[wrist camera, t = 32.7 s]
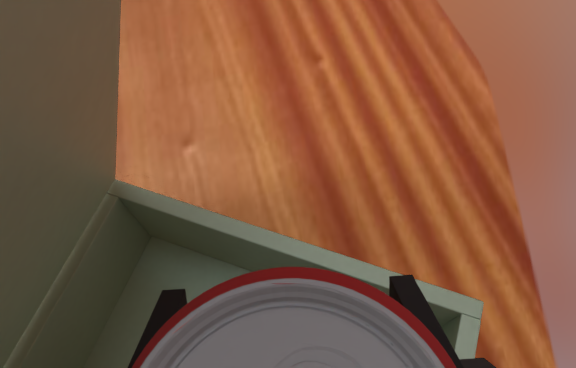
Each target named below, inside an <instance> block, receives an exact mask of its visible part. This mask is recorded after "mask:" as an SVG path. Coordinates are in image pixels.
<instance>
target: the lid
mask: <svg viewBox="0 0 576 368" xmlns="http://www.w3.org/2000/svg"><path fill="white" fill-rule="evenodd" d="M120 12H121V0H0V368H3V367H4V365H5V363H6V362H7V360H8V358H9V357H10V355H11V353H12V352H13V350H14V348H15V347H16V345H17V343H18V342H19V340H20V338H21V336H22V335H23V333H24V331H25V330H26V328H27V326H28V325H29V323H30V321H31V320H32V318H33V316H34V315H35V313H36V311H37V309H38V308H39V306H40V304H41V303H42V301H43V299H44V298H45V296H46V294H47V293H48V291H49V289H50V287H51V286H52V284H53V282H54V281H55V279H56V277H57V276H58V274H59V272H60V271H61V269H62V267H63V266H64V264H65V262H66V260H67V259H68V257H69V255H70V254H71V252H72V250H73V249H74V247H75V245H76V244H77V242H78V240H79V238H80V237H81V235H82V233H83V232H84V230H85V228H86V227H87V225H88V223H89V222H90V220H91V218H92V217H93V215H94V213H95V211H96V210H97V208H98V206H99V205H100V203H101V201H102V200H103V198H104V196H105V195H106V193H107V191H108V189H109V188H110V186H111V184H112V183H113V181H114V179H115V171H116V139H117V107H118V75H119V44H120Z"/></svg>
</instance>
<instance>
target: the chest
mask: <svg viewBox="0 0 576 368" xmlns="http://www.w3.org/2000/svg"><path fill="white" fill-rule="evenodd" d="M278 267H309V268H317V269H323V270H329V271H333V272H337V273H341V274H344V275H347V276H350V277H353V278H355V279H358V280H360V281H362V282H365V283H367V284H369V285H371V286H373V287H375V288H377V289H378V290H380V291H382V292H384V293H385V294H387V295H388V296H389V276H400V275H402V274H399V273H396V272H393V271H390V270H387V269H384V268H381V267H378V266H375V265H372V264H369V263H366V262H363V261H360V260H357V259H354V258H351V257H348V256H345V255H342V254H339V253H336V252H333V251H329V250H326V249H323V248H320V247H317V246H314V245H311V244H308V243H305V242H302V241H299V240H296V239H293V238H290V237H287V236H284V235H281V234H278V233H275V232H272V231H269V230H266V229H263V228H260V227H257V226H254V225H251V224H248V223H245V222H242V221H239V220H236V219H233V218H230V217H227V216H224V215H221V214H218V213H215V212H212V211H209V210H206V209H203V208H200V207H197V206H194V205H191V204H188V203H185V202H182V201H179V200H176V199H173V198H170V197H167V196H164V195H161V194H158V193H155V192H152V191H149V190H146V189H143V188H140V187H137V186H134V185H131V184H128V183H125V182H122V181H119V180H116V179H114V181H113V183H112V184H111V186H110V188H109V189H108V191H107V193H106V195H105V196H104V198H103V200H102V201H101V203H100V205H99V206H98V208H97V210H96V211H95V213H94V215H93V217H92V218H91V220H90V222H89V223H88V225H87V227H86V228H85V230H84V232H83V233H82V235H81V237H80V238H79V240H78V242H77V244H76V245H75V247H74V249H73V250H72V252H71V254H70V255H69V257H68V259H67V260H66V262H65V264H64V266H63V267H62V269H61V271H60V272H59V274H58V276H57V277H56V279H55V281H54V282H53V284H52V286H51V287H50V289H49V291H48V293H47V294H46V296H45V298H44V299H43V301H42V303H41V304H40V306H39V308H38V309H37V311H36V313H35V315H34V316H33V318H32V320H31V321H30V323H29V325H28V326H27V328H26V330H25V331H24V333H23V335H22V336H21V338H20V340H19V342H18V343H17V345H16V347H15V348H14V350H13V352H12V353H11V355H10V357H9V358H8V360H7V362H6V363H5V365H4V367H3V368H128V365H129V363H130V361H131V359H132V356H133V354H134V352H135V350H136V348H137V345H138V343H139V341H140V339H141V336H142V334H143V332H144V330H145V328H146V325H147V323H148V321H149V319H150V316H151V314H152V312H153V310H154V308H155V305H156V303H157V301H158V299H159V296H160V294H161V292H162V290H172V289H185V291H186V298H187V303H189V302H190V301H191V300H193V299H194V298H196V297H197V296H199V295H200V294H202V293H203V292H205V291H207V290H209V289H211V288H212V287H214V286H216V285H218V284H220V283H222V282H225V281H227V280H229V279H232V278H234V277H237V276H240V275H243V274H246V273H250V272H254V271H258V270H264V269H269V268H278ZM415 281H416V283H417V284H418V286H419V288H420V290H421V291H422V293H423V295H424V297H425V299H426V300H427V302H428V304H429V306H430V308H431V309H432V311H433V313H434V315H435V316H436V318H437V320H438V322H439V324H440V325H441V327H442V329H443V331H444V333H445V334H446V336H447V338H448V340H449V341H450V343H451V345H452V347H453V349H454V350H455V352H456V354H457V356H458V358H459V359H472V358H475V353H476V347H477V341H478V335H479V329H480V323H481V320H480V319H481V316H482V310H483V304H484V303H483V301H480V300H477V299H474V298H471V297H468V296H465V295H462V294H459V293H456V292H453V291H450V290H447V289H444V288H441V287H438V286H435V285H432V284H429V283H426V282H423V281H420V280H417V279H415Z"/></svg>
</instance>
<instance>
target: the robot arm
mask: <svg viewBox="0 0 576 368" xmlns="http://www.w3.org/2000/svg"><path fill="white" fill-rule="evenodd" d="M389 296H390V297H391V298H393V299H394V300H396V301H397V302H399V303H400V304H401V305H402V306H404V307H405V308H406V309H408V310H409V311H410V312H411V313H412V314H413V315H414V316H415V317H416V318H418V319H419V320H420V321H421V322H422V323H423V324H424V325H425V326H426V328H427V329H428V330H429V331H430V332H431V333H432V334H433V335H434V337H435V338H436V339H437V340H438V341H439V343H440V344H441V345H442V346H443V348H444V349H445V351H446V352H447V354H448V355H449V357H450V358H451V359H452V361H453V363H454V364H455V366H456V368H496V367H495V366H493V365H492V364H491V363H490V362H488V361H487V360H486V359H484V358H472V359H459V358H458V356H457V354H456V352H455V350H454V349H453V347H452V345H451V343H450V341H449V340H448V338H447V336H446V334H445V333H444V331H443V329H442V327H441V325H440V324H439V322H438V320H437V318H436V316H435V315H434V313H433V311H432V309H431V308H430V306H429V304H428V302H427V300H426V299H425V297H424V295H423V293H422V291H421V290H420V288H419V286H418V284H417V283H416V281H415V279H414V277H413V275H400V276H389ZM186 304H187V298H186V291H185V289H172V290H162V292H161V294H160V296H159V299H158V301H157V303H156V305H155V308H154V310H153V312H152V314H151V316H150V319H149V321H148V323H147V325H146V328H145V330H144V332H143V334H142V336H141V339H140V341H139V343H138V345H137V348H136V350H135V352H134V354H133V356H132V359H131V361H130V363H129V365H128V368H132V366H133V365H134V363H135V361H136V360H137V358H138V357H139V355H140V354H141V352H142V351H143V349H144V348H145V346H146V345H147V344H148V343H149V341H150V340H151V339H152V338H153V336H154V335H155V334H156V333H157V331H158V330H159V329H160V328H161V327H162V326H163V325H164V324H165V323H166V322H167V321H168V320H169V319H170V318H171V317H172V316H173V315H174V314H175V313H176V312H178V311H179V310H180V309H181V308H182V307H184V306H185V305H186Z"/></svg>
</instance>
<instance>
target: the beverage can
mask: <svg viewBox="0 0 576 368" xmlns="http://www.w3.org/2000/svg"><path fill="white" fill-rule="evenodd" d="M132 368H456V366H455V364H454V363H453V361H452V359H451V358H450V357H449V355H448V354H447V352H446V351H445V349H444V348H443V346H442V345H441V344H440V343H439V341H438V340H437V339H436V338H435V337H434V335H433V334H432V333H431V332H430V331H429V330H428V329H427V328H426V326H425V325H424V324H423V323H422V322H421V321H420V320H419V319H418V318H416V317H415V316H414V315H413V314H412V313H411V312H410V311H409V310H408V309H406V308H405V307H404V306H402V305H401V304H400V303H399V302H397V301H396V300H394V299H393V298H391V297H390V296H388V295H387V294H385V293H384V292H382V291H380V290H378V289H377V288H375V287H373V286H371V285H369V284H367V283H365V282H362V281H360V280H358V279H355V278H353V277H350V276H347V275H344V274H341V273H337V272H333V271H329V270H323V269H317V268H309V267H278V268H269V269H264V270H258V271H254V272H250V273H246V274H243V275H240V276H237V277H234V278H232V279H229V280H227V281H225V282H222V283H220V284H218V285H216V286H214V287H212V288H211V289H209V290H207V291H205V292H203V293H202V294H200V295H199V296H197V297H196V298H194V299H193V300H191V301H190V302H189V303H187V304H186V305H185V306H184V307H182V308H181V309H180V310H179V311H178V312H176V313H175V314H174V315H173V316H172V317H171V318H170V319H169V320H168V321H167V322H166V323H165V324H164V325H163V326H162V327H161V328H160V329H159V330H158V331H157V333H156V334H155V335H154V336H153V338H152V339H151V340H150V341H149V343H148V344H147V345H146V346H145V348H144V349H143V351H142V352H141V354H140V355H139V357H138V358H137V360H136V361H135V363H134V365H133V366H132Z"/></svg>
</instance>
